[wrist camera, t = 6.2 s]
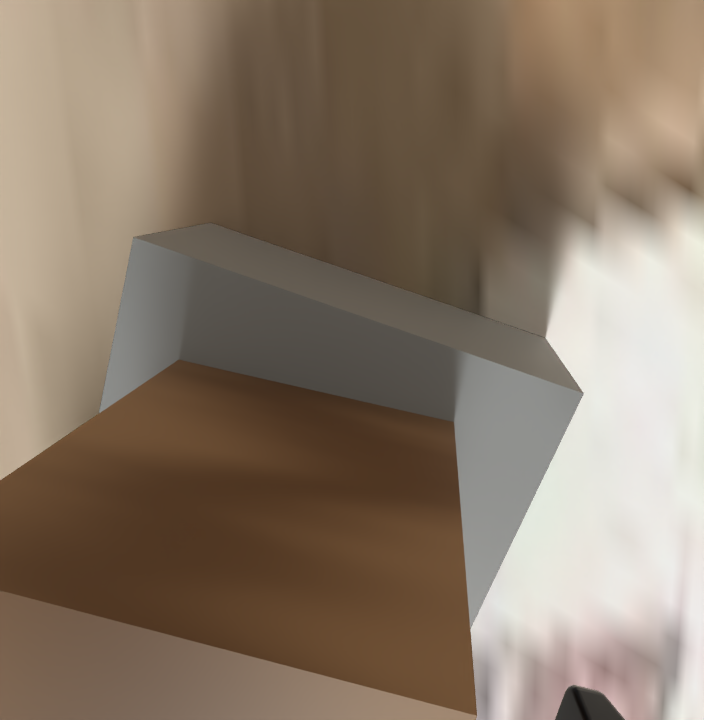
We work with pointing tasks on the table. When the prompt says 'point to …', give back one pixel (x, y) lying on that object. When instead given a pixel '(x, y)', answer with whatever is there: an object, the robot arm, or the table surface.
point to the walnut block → (236, 561)
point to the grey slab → (354, 360)
